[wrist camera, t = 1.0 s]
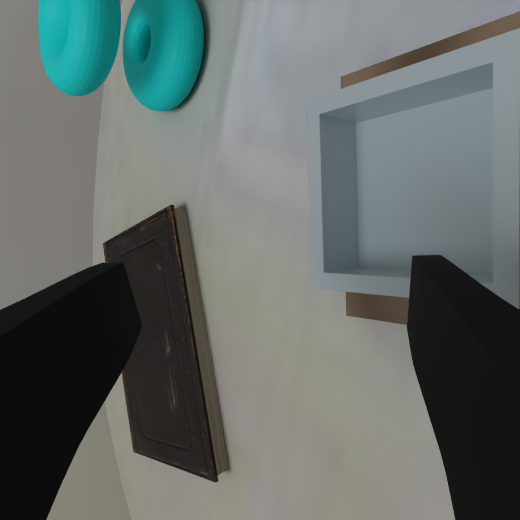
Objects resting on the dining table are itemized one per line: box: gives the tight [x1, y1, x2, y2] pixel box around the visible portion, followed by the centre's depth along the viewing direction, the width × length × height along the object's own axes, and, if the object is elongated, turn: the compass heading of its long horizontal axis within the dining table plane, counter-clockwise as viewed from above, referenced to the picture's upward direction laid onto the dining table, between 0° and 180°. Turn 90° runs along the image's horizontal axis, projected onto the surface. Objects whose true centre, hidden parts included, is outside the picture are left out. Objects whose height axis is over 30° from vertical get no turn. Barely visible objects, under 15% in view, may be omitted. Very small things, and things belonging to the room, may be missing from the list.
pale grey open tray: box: [306, 28, 520, 309], centre depth 18 cm, size 9×9×4 cm
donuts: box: [38, 0, 204, 111], centre depth 33 cm, size 10×10×10 cm
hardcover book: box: [103, 205, 229, 482], centre depth 41 cm, size 16×23×2 cm
